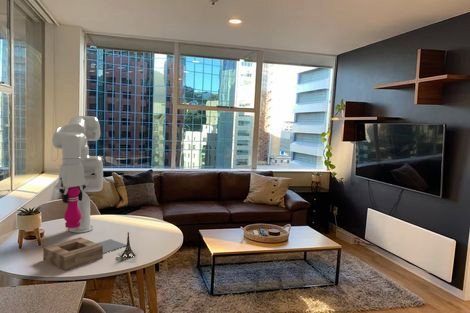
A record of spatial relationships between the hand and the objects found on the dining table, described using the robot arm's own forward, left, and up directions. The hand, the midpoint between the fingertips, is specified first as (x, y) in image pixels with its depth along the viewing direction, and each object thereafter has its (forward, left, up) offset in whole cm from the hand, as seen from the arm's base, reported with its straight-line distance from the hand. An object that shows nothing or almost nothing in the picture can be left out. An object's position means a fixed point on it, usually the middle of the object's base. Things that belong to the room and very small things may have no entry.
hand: (72, 201), depth 158 cm
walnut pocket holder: (0, 0, -27) cm, 27 cm away
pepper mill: (0, 0, -12) cm, 12 cm away
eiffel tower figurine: (+16, +17, -28) cm, 37 cm away
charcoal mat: (-2, +19, -27) cm, 33 cm away
